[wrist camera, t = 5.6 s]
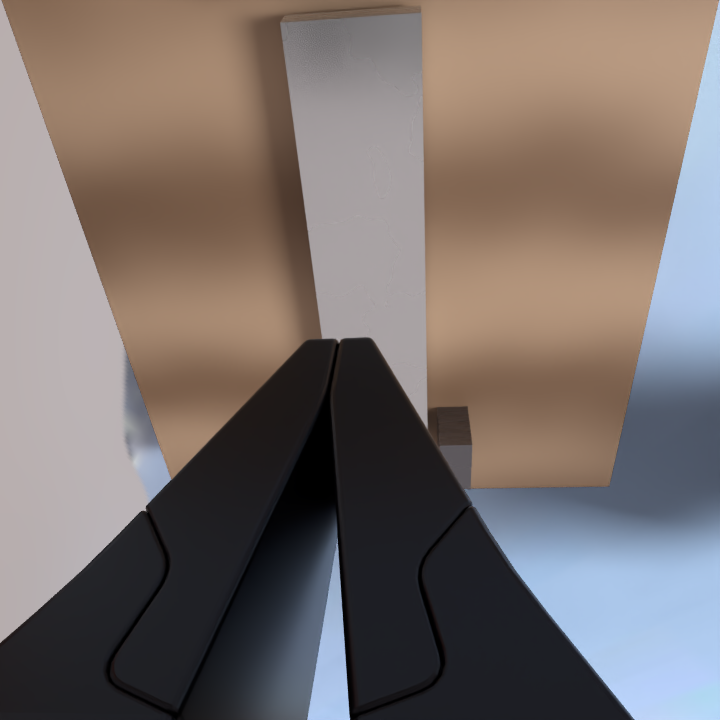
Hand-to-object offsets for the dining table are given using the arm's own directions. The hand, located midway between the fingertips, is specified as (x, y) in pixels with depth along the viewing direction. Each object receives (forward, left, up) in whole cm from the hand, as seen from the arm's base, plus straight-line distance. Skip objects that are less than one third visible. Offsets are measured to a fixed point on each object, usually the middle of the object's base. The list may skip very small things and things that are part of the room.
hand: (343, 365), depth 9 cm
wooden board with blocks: (-3, 0, -13) cm, 13 cm away
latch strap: (-4, 0, -10) cm, 11 cm away
